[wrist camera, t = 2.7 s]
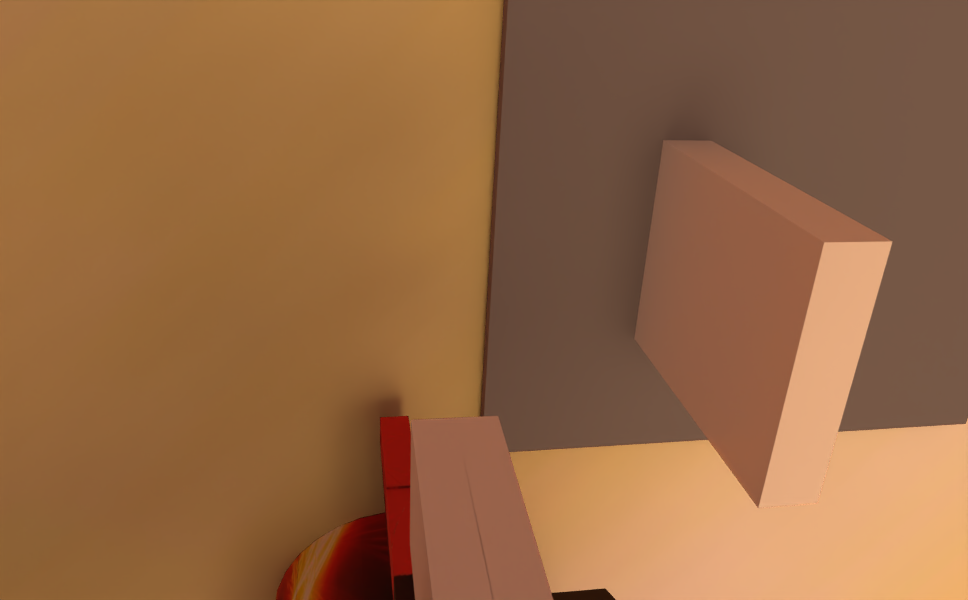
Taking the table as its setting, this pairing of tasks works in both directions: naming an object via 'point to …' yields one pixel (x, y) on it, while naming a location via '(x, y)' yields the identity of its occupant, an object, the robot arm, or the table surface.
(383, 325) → the table surface
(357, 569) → the mug
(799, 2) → the mat
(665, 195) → the tile
